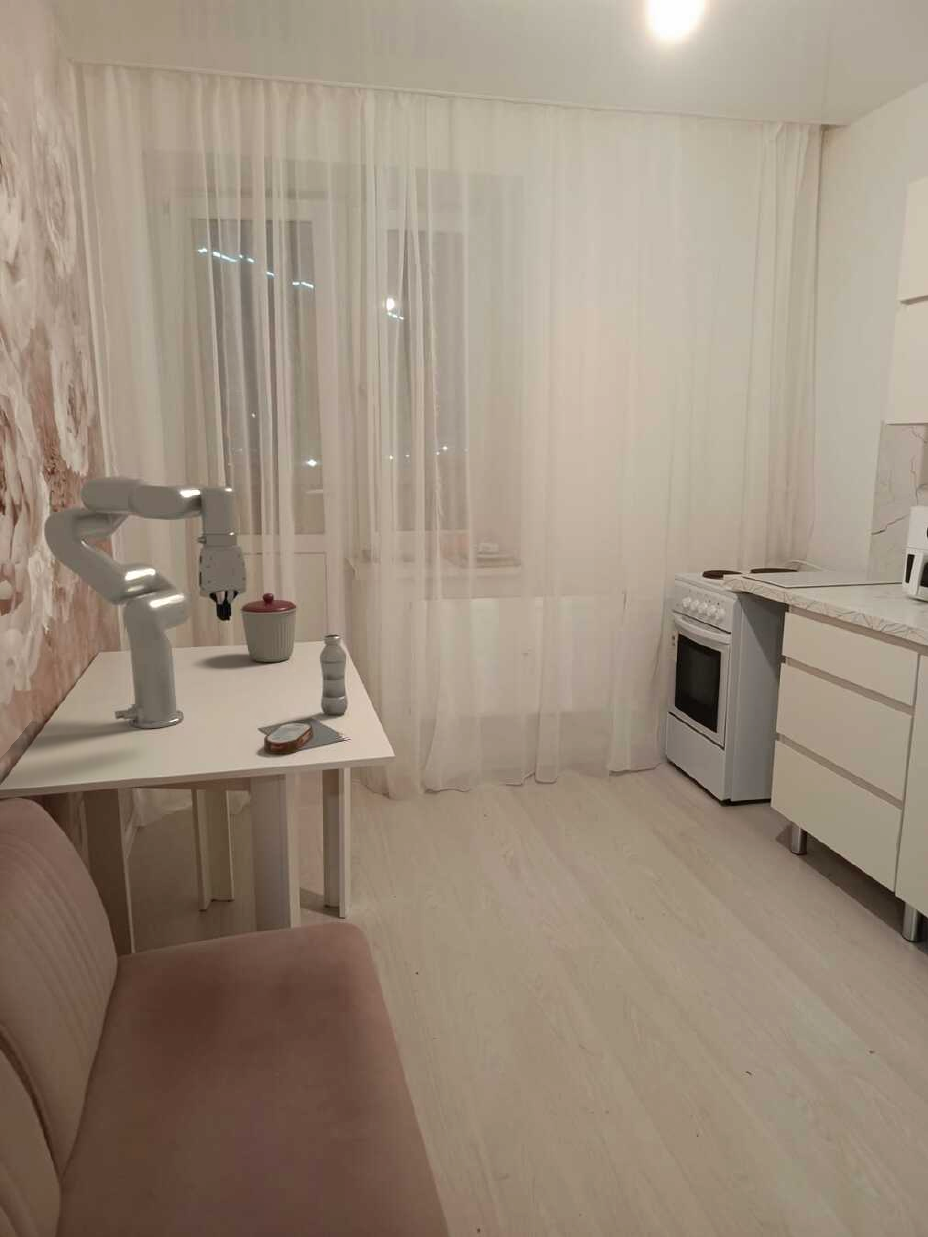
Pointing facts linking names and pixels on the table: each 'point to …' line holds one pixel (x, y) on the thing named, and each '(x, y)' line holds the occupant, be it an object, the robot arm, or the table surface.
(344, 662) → the plastic bottle
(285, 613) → the canister
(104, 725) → the table surface
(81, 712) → the table surface
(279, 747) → the tin
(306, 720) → the mat
